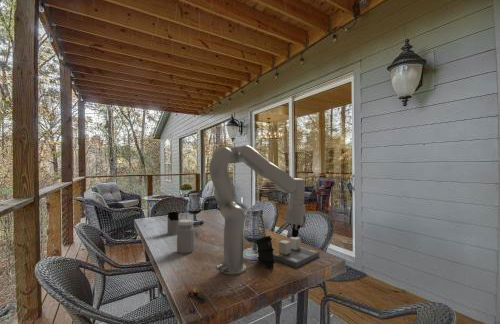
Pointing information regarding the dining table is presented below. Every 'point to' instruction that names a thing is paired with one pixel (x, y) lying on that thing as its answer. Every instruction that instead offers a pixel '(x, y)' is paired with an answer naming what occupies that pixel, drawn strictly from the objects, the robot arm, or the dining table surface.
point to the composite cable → (195, 295)
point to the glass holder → (173, 223)
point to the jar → (185, 236)
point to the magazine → (265, 252)
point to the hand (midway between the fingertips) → (294, 236)
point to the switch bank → (297, 257)
